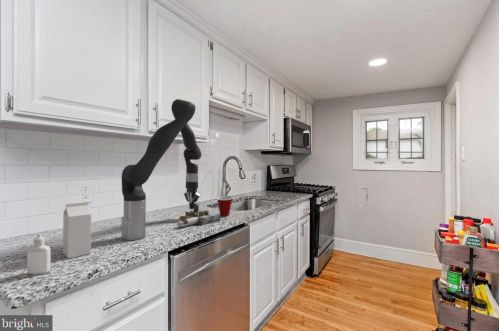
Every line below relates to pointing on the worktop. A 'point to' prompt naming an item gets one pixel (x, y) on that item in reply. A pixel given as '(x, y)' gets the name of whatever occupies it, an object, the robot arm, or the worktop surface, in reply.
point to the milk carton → (76, 230)
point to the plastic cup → (224, 205)
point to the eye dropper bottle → (38, 257)
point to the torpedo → (187, 222)
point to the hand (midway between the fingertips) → (191, 208)
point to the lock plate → (202, 217)
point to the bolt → (197, 209)
